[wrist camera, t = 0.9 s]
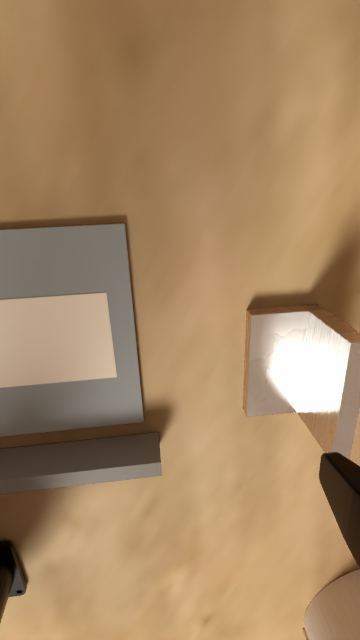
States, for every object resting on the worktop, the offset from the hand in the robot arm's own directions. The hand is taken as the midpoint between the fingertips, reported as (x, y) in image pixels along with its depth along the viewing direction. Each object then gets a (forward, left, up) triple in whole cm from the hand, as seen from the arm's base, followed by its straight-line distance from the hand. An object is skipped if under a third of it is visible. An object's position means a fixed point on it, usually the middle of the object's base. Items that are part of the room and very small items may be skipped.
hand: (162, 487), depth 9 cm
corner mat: (-2, +7, -14) cm, 16 cm away
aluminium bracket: (-5, -9, -14) cm, 17 cm away
